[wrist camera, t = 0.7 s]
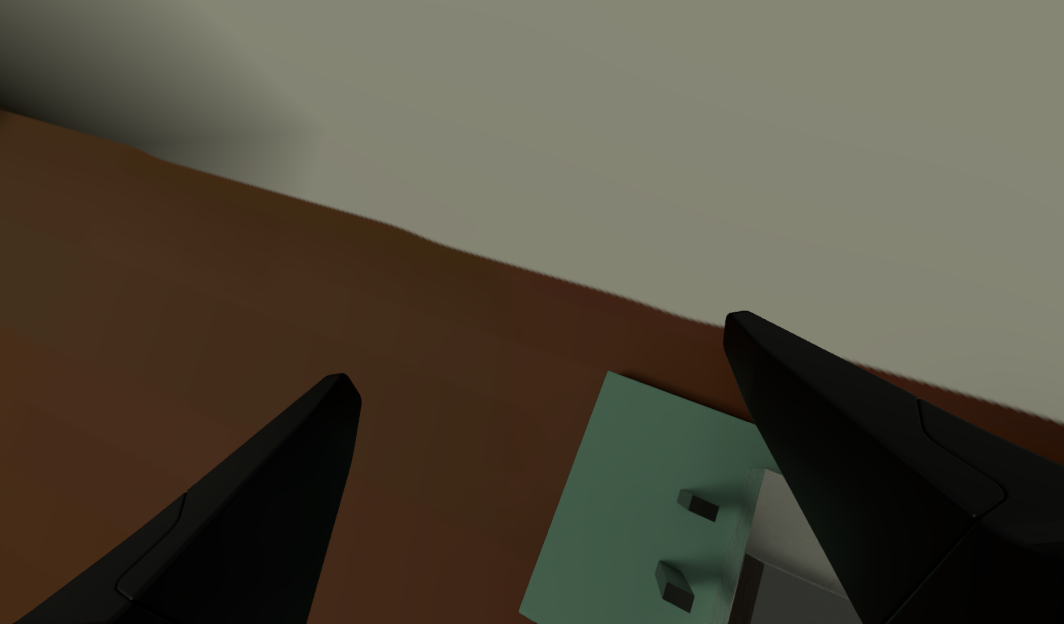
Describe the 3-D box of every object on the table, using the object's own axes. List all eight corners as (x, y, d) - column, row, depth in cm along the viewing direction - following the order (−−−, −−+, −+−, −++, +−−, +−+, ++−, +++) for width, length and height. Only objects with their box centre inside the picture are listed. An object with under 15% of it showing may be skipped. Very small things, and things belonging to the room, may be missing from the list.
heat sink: (1041, 585, 16) (1155, 618, 12) (1021, 837, 14) (1149, 958, 10) (693, 445, 20) (707, 442, 16) (639, 624, 18) (643, 662, 14)
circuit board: (1222, 603, 15) (1269, 614, 14) (1231, 1024, 12) (1291, 1079, 11) (608, 375, 23) (608, 370, 22) (524, 603, 20) (518, 612, 19)
